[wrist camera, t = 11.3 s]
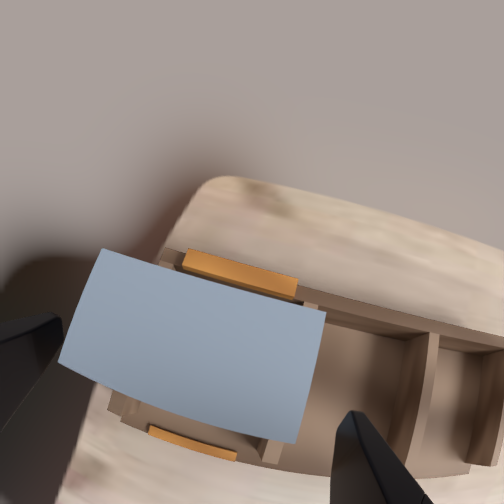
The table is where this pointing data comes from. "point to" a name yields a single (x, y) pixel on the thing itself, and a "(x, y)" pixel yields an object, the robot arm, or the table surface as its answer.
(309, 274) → the table surface
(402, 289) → the table surface
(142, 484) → the table surface
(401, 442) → the rack
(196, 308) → the blanking panel
